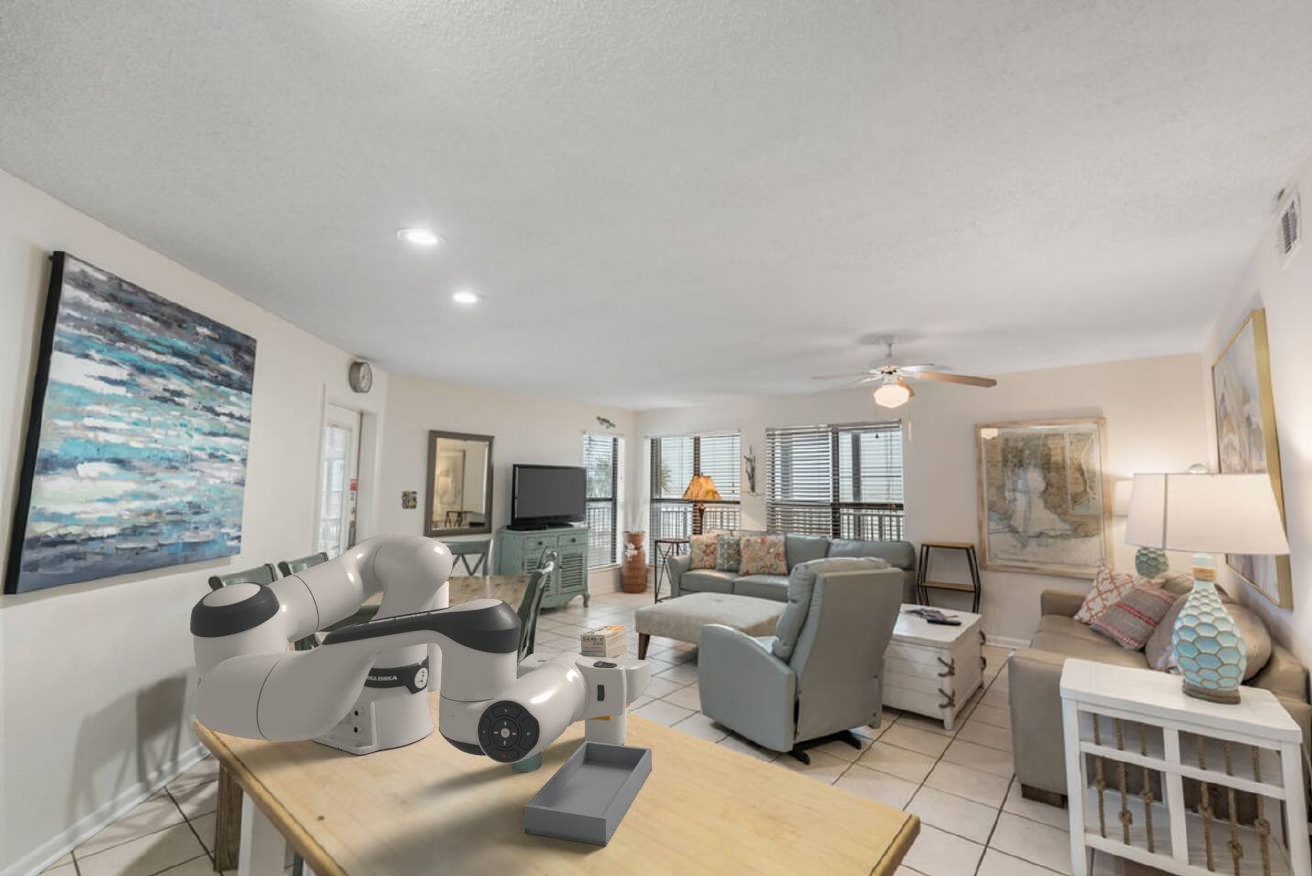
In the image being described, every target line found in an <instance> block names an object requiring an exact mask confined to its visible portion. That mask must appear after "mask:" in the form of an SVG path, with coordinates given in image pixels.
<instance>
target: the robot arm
mask: <svg viewBox="0 0 1312 876" xmlns="http://www.w3.org/2000/svg"><path fill="white" fill-rule="evenodd" d="M453 567H454V560H453V554H452V552H451V550H450V548H449V547H448V546H447V545H446V544H445V543H443V542H441V541H438V540H436V539H434V538H431V537H429V536H426V535H425V536H423V535H406V534H405V535H404V534H403V535H402V534H399V535H397V534H379V535H373V536H370V537H367V538H364V539H362V540H360V541H358V542H357V543H355V545H354V546H353V547H351V548H350V549H348V550H345V551H344V552H343V553H341V554H339V555H337V556H335V557H333V558H332V559H329V560H327V561H324V562H322V563H318V564H316V565H313V566H310V567H309V568H305V569H302V570H301V571H297V572H295V573H293V574H290V575H287V576H285V577H283V578H280V579H278V580H275V581H272V582H270V583H269V584H268V583H267V584H266V585H264V584H262V583H260V582H255V581H247V582H246V581H245V582H244V581H243V582H238V583H234V584H233V583H232V584H229V585H225V586H221V587H219V588H217V589H214V590H212V591H210V592H208V593H206V594H205V595H204V596H202V598H200V600H199V601H197V603H196V604H195V605H194V606H193V608H192V609H191V612H190V613H191V614H190V624H189V625H190V627H189V632H190V633H191V634H192V635H193V654H194V661H195V662H194V663H195V667H196V672H197V674H198V676H199V677H200V683H199V684H198V687H197V689H196V692H195V695H194V699H193V701H194V702H193V709H194V710H193V711H194V715H195V717H196V720H197V721H198V723H200V725H202V726H203V727H204V728H206V729H208V730H210V731H213V732H217V733H219V734H222V735H227V736H231V737H232V736H233V737H236V738H242V739H249V740H257V741H259V740H260V741H268V742H269V741H273V742H299V741H308V740H312V741H313V742H317V743H319V744H322V745H326V746H329V747H332V748H335V749H338V748H339V749H338V750H341V749H342V751H345V752H349V753H351V754H355V755H361V756H362V755H367V754H370V753H373V752H377V751H380V750H381V751H382V750H386V749H393V748H397V747H402V746H406V745H409V744H411V743H414V742H417V741H420V740H422V739H423V738H425V737H427V736H428V735H430V734H432V732H433V731H434V729H435V723H434V719H433V715H432V711H431V706H430V705H431V704H430V699H429V692H428V687H427V683H428V677H429V656H428V655H427V644H428V643H436V644H437V645H438V646H439V647H440V649H441V651H442V667H441V689H440V690H439V702H438V704H439V705H438V706H439V707H438V732H439V733H440V735H441V736H442V737H443V739H444V740H446V742H448V743H449V744H450V745H451V746H453V747H454V748H456V750H459V751H460V752H463V753H465V754H470V755H473V756H481V757H482V756H485V757H488V758H489V759H491V760H493V761H494V762H496V763H500V764H506V765H508V764H509V765H510V764H511V765H513V763H517V762H520V761H523V760H525V759H528V758H530V757H532V756H534V755H536V754H537V753H539V752H541V751H542V752H543V751H544V750H545V749H546V748H548V747H549V746H550V745H551V744H553V743H554V742H556V740H557V739H559V738H560V736H562V735H563V733H564V732H565V731H566V730H567V728H568V727H570V726H571V725H573V724H574V723H575V722H578V723H579V722H582V721H585V720H586V719H590V718H596V717H609V716H619V715H622V714H623V713H624V712H625V709H626V705H627V704H630V705H631V704H632V703H635V702H636V701H637V700H638V699H640V698H641V697H642V696H643V695H644V694H645V693H646V692H647V690H648V689H649V688H650V686H651V681H652V680H651V679H652V677H651V676H652V675H651V674H652V670H651V669H652V667H651V664H650V661H647V660H646V659H645V660H644V659H629V658H628V659H624V656H623V655H614V656H613V657H612V658H606V657H593V656H582V654H581V652H578V653H577V652H574V651H564V652H560V653H550V652H535V653H531V654H528V655H527V656H526V657H525V658H524V659H522V660H521V661H520V662H519V663H518V649H519V646H520V639H521V638H520V637H521V628H522V624H523V623H522V619H521V618H520V617H519V616H518V614H517V612H516V611H515V610H514V608H512V606H511V605H510V604H509V603H507V602H506V600H503V599H496V598H480V599H479V598H477V599H474V600H469V601H467V602H462V603H460V604H457V605H454V606H449V607H447V608H442V609H436V610H431V606H432V603H433V600H434V597H435V595H436V593H437V591H438V589H439V588H440V587H441V586H442V585H443V584H444V583H445V582H446V581H447V582H448V579H449V578H450V576H451V574H452V570H453ZM380 593H382V598H381V602H380V605H379V608H378V610H377V612H376V614H375V615H374V616H373V617H372V618H371V619H370V620H365V621H361V622H356V623H352V624H348V625H345V626H343V627H339V628H337V629H334V630H332V631H331V632H328V633H327V634H326V636H325V637H324V639H323V640H322V641H321V644H319V645H318V646H316V647H313V648H311V649H307V650H305V649H304V650H291V649H290V644H292V643H294V642H297V641H300V640H302V639H304V638H306V637H309V636H311V635H313V634H315V633H317V632H319V631H321V630H324V629H325V628H328V627H330V626H332V625H334V624H336V623H338V622H341V621H343V620H344V619H347V618H349V617H351V616H353V615H355V614H356V613H358V612H359V610H360V608H361V606H362V605H363V604H364V603H365V602H366V601H368V600H369V599H371V597H373V596H375V595H377V594H380Z"/></svg>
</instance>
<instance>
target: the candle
mask: <svg viewBox="0 0 1312 876" xmlns="http://www.w3.org/2000/svg"><path fill="white" fill-rule="evenodd" d="M542 765H543V750H542V751H541V752H539V753H537V754H536V755H534V756H532V757H530V758H528V759H525V760H523V761H520V762H517V763H512V769H513V770H514V771H515V772H517V773H530V772H533V771H537V770H538V769H539V768H541V766H542Z"/></svg>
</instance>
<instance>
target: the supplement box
mask: <svg viewBox="0 0 1312 876" xmlns="http://www.w3.org/2000/svg"><path fill="white" fill-rule="evenodd" d="M627 643H628V640H627V626H626V625H603V626H602V625H601V626H599V627H596V628H595V629H592V630H588V631H587V632H584V633H581V634H580V651H581V654H582V656H593V657H606V658H612V657H613V656H614V655H623V656H624V659H629V658H628V644H627ZM630 706H631V703H630V704H627V705H626V708H628V707H630ZM614 717H615V716H609V717H596V718H590V719H587V720H604V721H605V720H607V721H609V720H611V719H612V718H614Z"/></svg>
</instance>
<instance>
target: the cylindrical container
mask: <svg viewBox="0 0 1312 876" xmlns="http://www.w3.org/2000/svg"><path fill="white" fill-rule="evenodd" d="M449 592H450V581H448V580H447V581H446V582H445V583H444V584H443V585H442V586H441V587H440V588H439V589H438V591H437V593H436V595H435V597H434V600H433V603H432V606H431V610H436V609H442V608H447V607H450V606H449V603H450V600H449V597H450V593H449ZM427 655H428V656H429V677H428V683H427V687H428V693H430V692H436V691H440V690H441V667H442V651H441V649H440V647H439V646H438V645H437V644H436V643H428V644H427Z"/></svg>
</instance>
